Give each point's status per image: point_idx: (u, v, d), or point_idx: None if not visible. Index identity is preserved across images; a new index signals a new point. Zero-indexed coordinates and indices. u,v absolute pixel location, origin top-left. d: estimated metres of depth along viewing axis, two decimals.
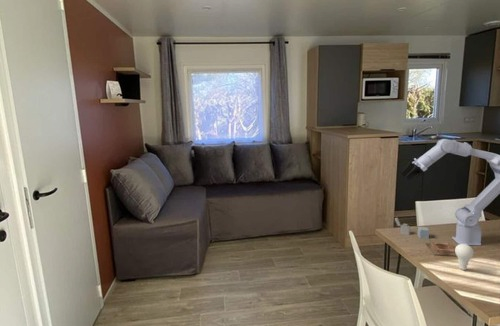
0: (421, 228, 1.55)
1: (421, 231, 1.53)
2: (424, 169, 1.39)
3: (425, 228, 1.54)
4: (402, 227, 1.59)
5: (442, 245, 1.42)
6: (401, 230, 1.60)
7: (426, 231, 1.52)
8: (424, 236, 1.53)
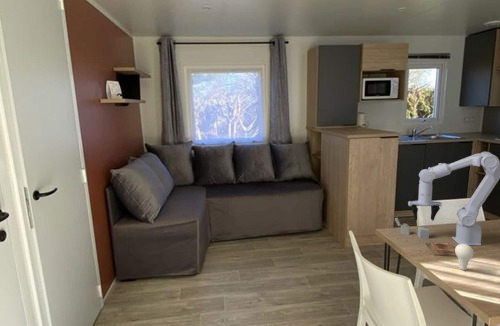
0: (421, 228, 1.55)
1: (421, 231, 1.53)
2: (409, 204, 1.53)
3: (425, 228, 1.54)
4: (402, 227, 1.59)
5: (442, 245, 1.42)
6: (401, 230, 1.60)
7: (426, 231, 1.52)
8: (424, 236, 1.53)
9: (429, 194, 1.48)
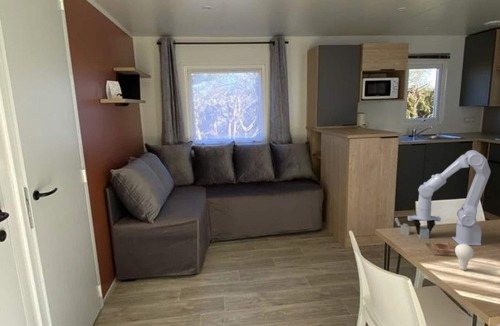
0: (421, 228, 1.55)
1: (421, 231, 1.53)
2: (408, 218, 1.55)
3: (425, 228, 1.54)
4: (402, 227, 1.59)
5: (442, 245, 1.42)
6: (401, 230, 1.60)
7: (426, 231, 1.52)
8: (424, 236, 1.53)
9: (428, 209, 1.50)
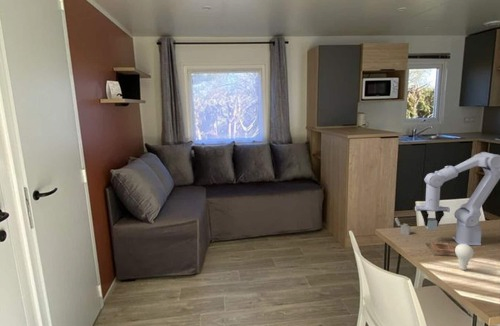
0: (429, 219, 1.48)
1: (429, 222, 1.46)
2: (415, 209, 1.48)
3: (433, 219, 1.47)
4: (402, 227, 1.59)
5: (442, 245, 1.42)
6: (401, 230, 1.60)
7: (434, 222, 1.45)
8: (432, 227, 1.46)
9: (438, 199, 1.43)
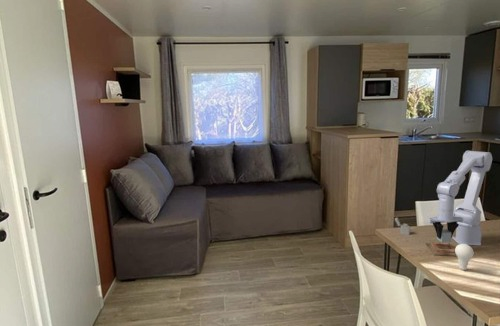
0: (442, 231, 1.39)
1: (443, 234, 1.37)
2: (429, 221, 1.37)
3: (446, 230, 1.39)
4: (402, 227, 1.59)
5: (442, 245, 1.42)
6: (401, 230, 1.60)
7: (448, 234, 1.36)
8: (446, 239, 1.37)
9: (453, 208, 1.35)
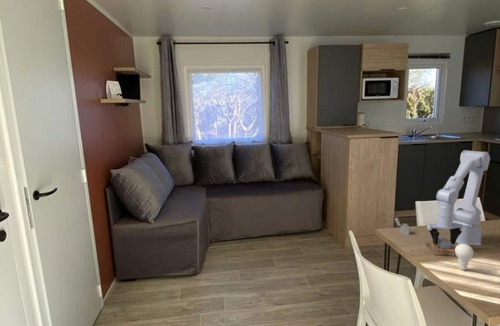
0: (441, 239, 1.39)
1: (442, 243, 1.37)
2: (428, 228, 1.38)
3: (445, 239, 1.39)
4: (402, 227, 1.59)
5: None
6: (401, 230, 1.60)
7: (447, 242, 1.37)
8: (445, 248, 1.38)
9: (453, 215, 1.35)
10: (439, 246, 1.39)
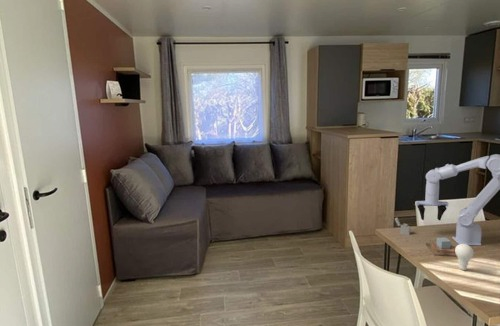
0: (441, 239, 1.39)
1: (442, 243, 1.37)
2: (416, 204, 1.55)
3: (445, 239, 1.39)
4: (402, 227, 1.59)
5: None
6: (401, 230, 1.60)
7: (447, 242, 1.37)
8: (445, 248, 1.38)
9: (435, 194, 1.50)
10: (439, 246, 1.39)
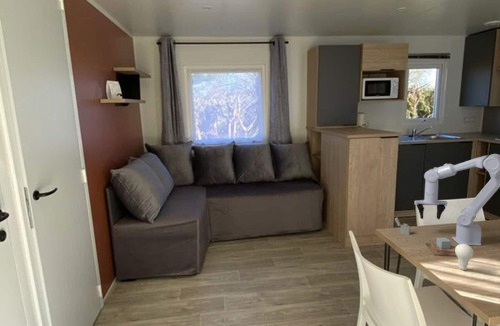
0: (441, 239, 1.39)
1: (442, 243, 1.37)
2: (415, 203, 1.56)
3: (445, 239, 1.39)
4: (402, 227, 1.59)
5: None
6: (401, 230, 1.60)
7: (447, 242, 1.37)
8: (445, 248, 1.38)
9: (433, 193, 1.51)
10: (439, 246, 1.39)
